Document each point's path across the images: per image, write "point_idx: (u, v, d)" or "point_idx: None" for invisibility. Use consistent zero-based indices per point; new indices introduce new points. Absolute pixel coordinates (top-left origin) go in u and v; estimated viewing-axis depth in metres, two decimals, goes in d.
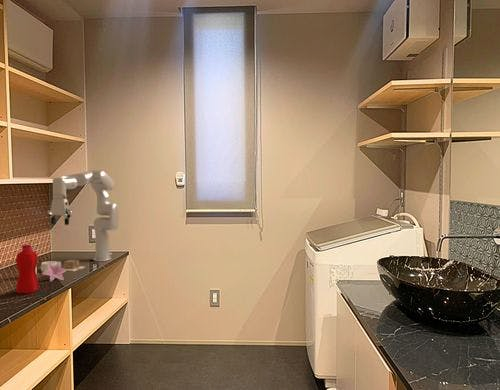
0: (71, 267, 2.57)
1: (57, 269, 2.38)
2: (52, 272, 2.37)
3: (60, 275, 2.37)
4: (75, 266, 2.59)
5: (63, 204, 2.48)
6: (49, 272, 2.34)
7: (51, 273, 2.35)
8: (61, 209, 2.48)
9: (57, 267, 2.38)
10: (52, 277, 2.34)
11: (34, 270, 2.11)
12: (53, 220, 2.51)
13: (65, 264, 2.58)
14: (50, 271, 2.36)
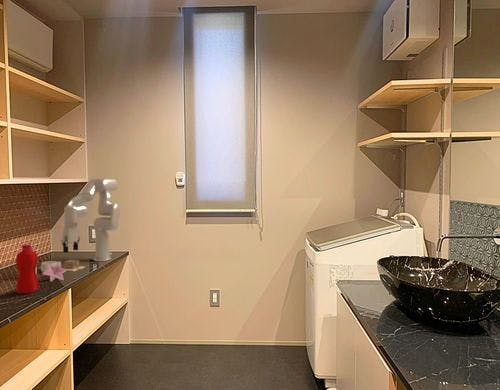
0: (71, 267, 2.57)
1: (57, 269, 2.38)
2: (52, 272, 2.36)
3: (60, 275, 2.36)
4: (75, 266, 2.59)
5: (77, 231, 2.63)
6: (49, 272, 2.34)
7: (51, 273, 2.35)
8: (76, 236, 2.62)
9: (57, 267, 2.38)
10: (52, 277, 2.34)
11: (34, 270, 2.11)
12: None
13: (65, 264, 2.58)
14: (50, 271, 2.36)
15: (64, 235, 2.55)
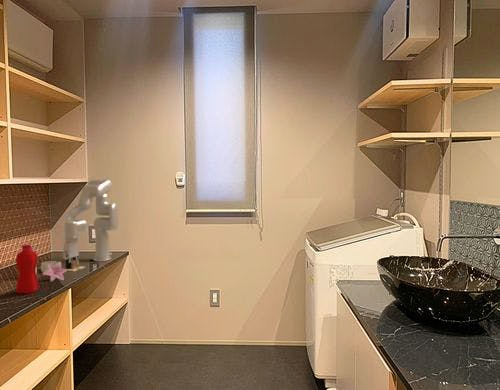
0: (71, 267, 2.57)
1: (57, 269, 2.38)
2: (52, 272, 2.36)
3: (61, 275, 2.36)
4: (75, 266, 2.59)
5: None
6: (49, 272, 2.34)
7: (51, 273, 2.35)
8: (77, 250, 2.62)
9: (58, 267, 2.38)
10: (53, 277, 2.34)
11: (34, 270, 2.11)
12: None
13: (65, 264, 2.58)
14: (51, 271, 2.36)
15: (65, 250, 2.55)
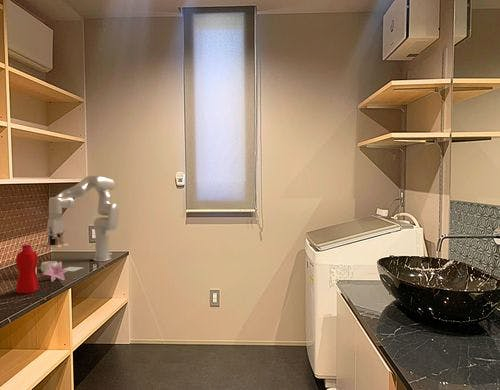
0: (55, 243, 2.54)
1: (58, 269, 2.38)
2: (53, 272, 2.36)
3: (61, 275, 2.36)
4: (59, 243, 2.56)
5: (62, 222, 2.60)
6: (50, 272, 2.34)
7: (52, 273, 2.35)
8: (61, 227, 2.59)
9: (58, 268, 2.38)
10: (53, 277, 2.34)
11: (34, 270, 2.11)
12: None
13: (49, 240, 2.55)
14: (51, 271, 2.35)
15: (49, 226, 2.52)
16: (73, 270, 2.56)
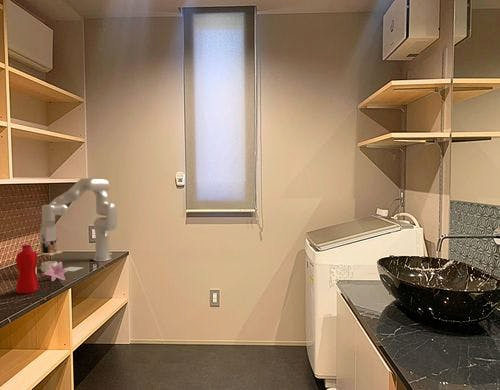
0: (48, 251, 2.53)
1: (58, 269, 2.38)
2: (53, 272, 2.36)
3: (61, 275, 2.36)
4: (52, 250, 2.55)
5: (55, 229, 2.59)
6: (50, 272, 2.34)
7: (52, 273, 2.35)
8: (54, 234, 2.58)
9: (58, 268, 2.38)
10: (53, 277, 2.34)
11: (34, 270, 2.11)
12: None
13: (42, 248, 2.54)
14: (51, 271, 2.35)
15: (41, 234, 2.51)
16: (73, 270, 2.56)
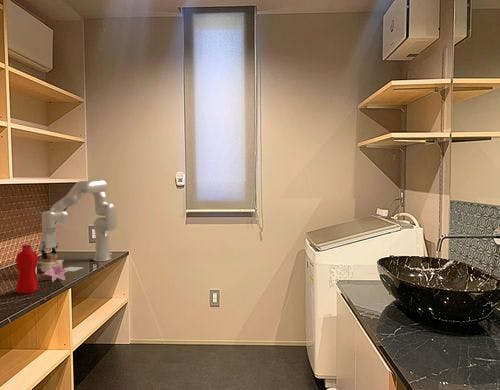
0: (48, 260, 2.54)
1: (58, 270, 2.38)
2: (54, 272, 2.36)
3: (62, 275, 2.36)
4: (53, 259, 2.55)
5: None
6: (50, 272, 2.34)
7: (53, 273, 2.35)
8: (55, 241, 2.59)
9: (59, 268, 2.38)
10: (54, 277, 2.34)
11: (34, 270, 2.11)
12: None
13: None
14: (52, 271, 2.35)
15: (42, 241, 2.51)
16: (73, 270, 2.56)
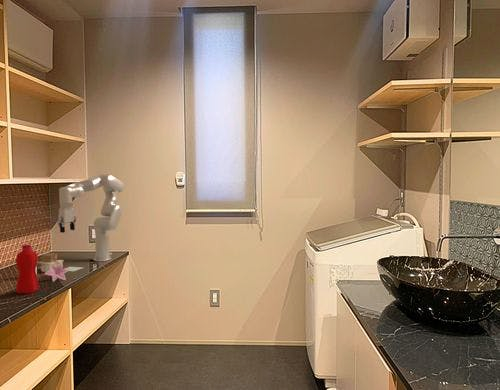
0: (48, 260, 2.54)
1: (59, 270, 2.38)
2: (54, 272, 2.36)
3: (62, 276, 2.36)
4: (53, 259, 2.55)
5: (73, 211, 2.68)
6: (51, 272, 2.34)
7: (53, 273, 2.35)
8: (72, 216, 2.67)
9: (59, 268, 2.38)
10: (54, 277, 2.34)
11: (34, 270, 2.11)
12: None
13: (42, 257, 2.54)
14: (52, 271, 2.35)
15: (60, 216, 2.60)
16: (73, 270, 2.56)
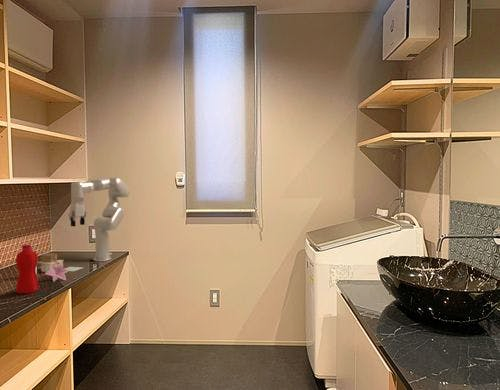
0: (48, 260, 2.54)
1: (59, 270, 2.38)
2: (54, 272, 2.36)
3: (63, 276, 2.36)
4: (53, 259, 2.55)
5: (83, 206, 2.74)
6: (51, 272, 2.34)
7: (54, 273, 2.35)
8: (83, 211, 2.73)
9: (59, 268, 2.38)
10: (55, 277, 2.34)
11: (34, 270, 2.11)
12: None
13: (42, 257, 2.54)
14: (53, 271, 2.35)
15: (71, 210, 2.66)
16: (73, 270, 2.56)
